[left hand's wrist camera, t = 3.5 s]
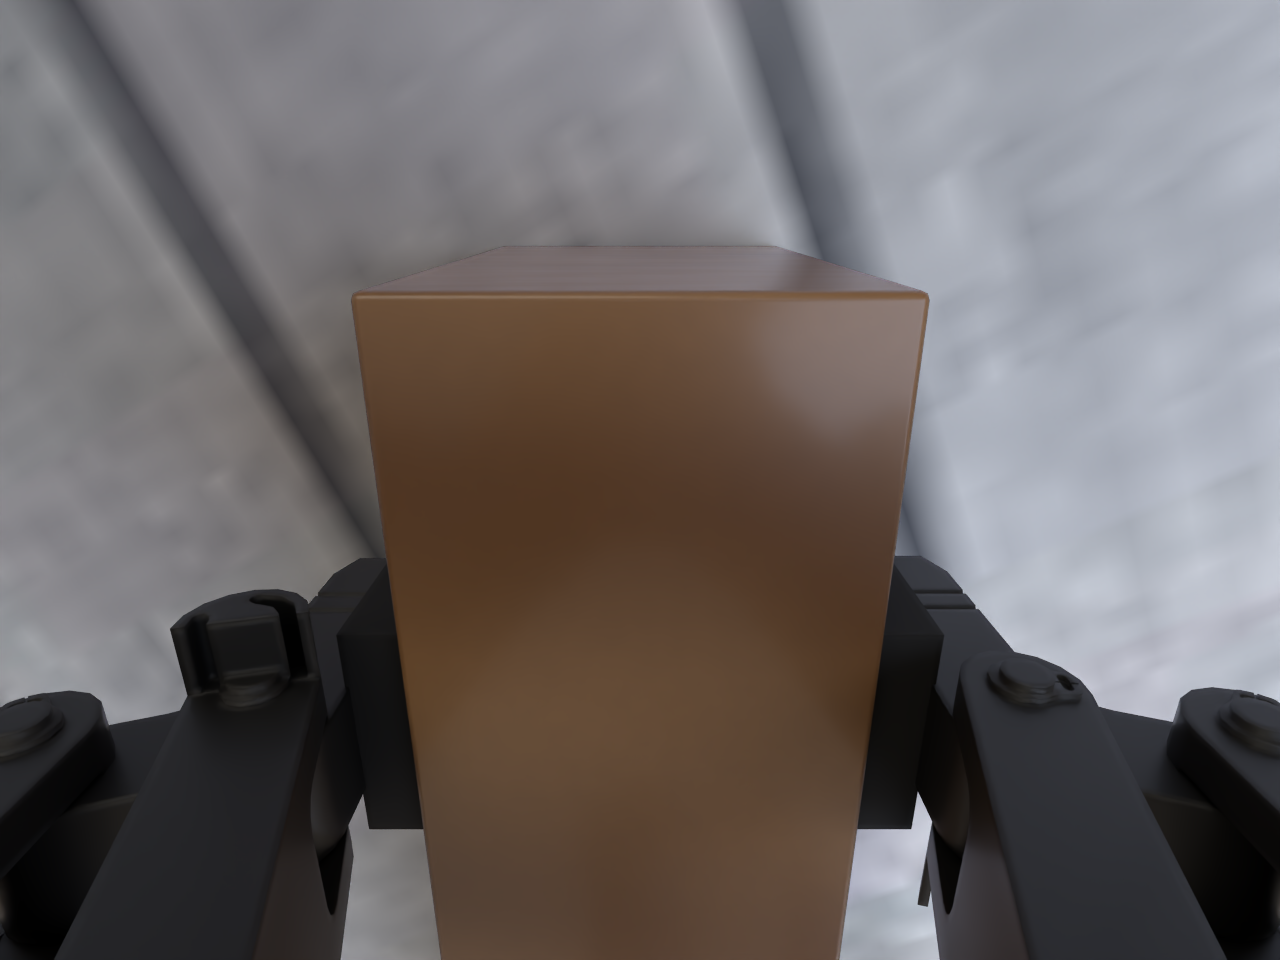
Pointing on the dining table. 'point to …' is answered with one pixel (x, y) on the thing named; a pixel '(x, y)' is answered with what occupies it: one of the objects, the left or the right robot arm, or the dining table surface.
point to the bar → (640, 586)
